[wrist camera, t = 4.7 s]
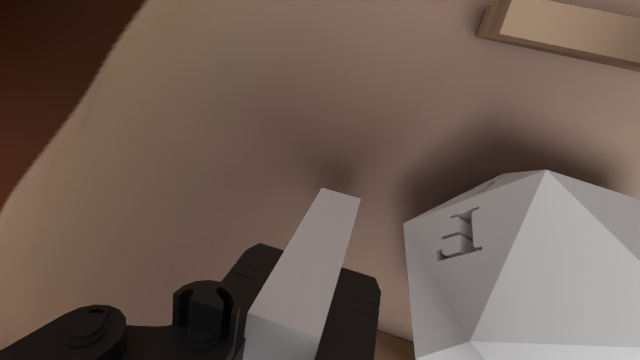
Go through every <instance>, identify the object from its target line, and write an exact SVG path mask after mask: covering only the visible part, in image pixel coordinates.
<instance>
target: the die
mask: <svg viewBox="0 0 640 360" xmlns="http://www.w3.org/2000/svg"><path fill="white" fill-rule="evenodd" d="M403 229H404V240H405V251H406V262H407V273H408V284H409V295H410V306H411V317H412V328H413V339H414V350H415V359H416V360H640V199H637V198H634V197H631V196H628V195H625V194H621V193H618V192H615V191H612V190H609V189H606V188H603V187H599V186H596V185H593V184H590V183H587V182H584V181H581V180H577V179H574V178H571V177H568V176H565V175H562V174H559V173H555V172H552V171H549V170H536V171H525V172H514V173H503V174H501V175H499V176H497V177H495V178H493V179H491V180H489V181H487V182H485V183H483V184H481V185H479V186H477V187H475V188H473V189H472V190H469V191H467V192H465V193H463V194H461V195H459V196H457V197H455V198H453V199H451V200H449V201H447V202H445V203H443V204H441V205H439V206H437V207H435V208H433V209H431V210H429V211H427V212H425V213H423V214H421V215H419V216H417V217H415V218H413V219H411V220H409V221H407V222H405V223H403Z"/></svg>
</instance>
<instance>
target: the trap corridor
mask: <svg viewBox="0 0 640 360" xmlns="http://www.w3.org/2000/svg"><path fill="white" fill-rule="evenodd" d="M476 37H479V38H483V39H488V40H493V41H498V42H502V43H507V44H512V45H517V46H521V47H526V48H531V49H535V50H540V51H545V52H550V53H554V54H559V55H564V56H569V57H573V58H578V59H583V60H588V61H592V62H597V63H602V64H606V65H611V66H616V67H621V68H625V69H630V70H635V71H640V18H637V17H632V16H627V15H622V14H616V13H611V12H606V11H601V10H595V9H590V8H585V7H580V6H575V5H569V4H564V3H559V2H554V1H549V0H501V1H499V2H496V3H494V4H492V5H490V6H488V7H486V9H485V12H484V15H483V18H482V21H481V23H480V26H479V29H478V32H477V35H476ZM374 360H416V359H415V350H414V343H413V342H410V341H407V340H404V339H401V338H398V337H395V336H392V335H389V334H386V333H383V332H380V331H377V335H376V345H375V355H374Z"/></svg>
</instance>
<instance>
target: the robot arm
mask: <svg viewBox="0 0 640 360" xmlns="http://www.w3.org/2000/svg"><path fill="white" fill-rule="evenodd" d="M360 201H361V199H360V198H357V197H353V196H350V195H346V194H343V193H339V192H336V191H332V190H328V189H325V188H321V190H320V192H319V193H318V195H317V197H316V198H315V200H314V202H313V203H312V205H311V207H310V208H309V210H308V212H307V213H306V215H305V217H304V218H303V220H302V222H301V224H300V225H299V227H298V229H297V230H296V232H295V234H294V235H293V237H292V239H291V240H290V242H289V244H288V245H287V247H286V249H285V250H284V251H283V250H280V249H277V248H274V247H271V246H267V245H264V244H261V243H259V244H257V245H255V246H253V247H251V248H249V249H247V250H246V251H245V252H244V253H243V255H242V256H241V257H240V258H239V260H238V261H237V263H236V264H235V265H234V266H233V267H232V269H231V270H230V272H229V273H228V274H227V275H226V276H225V278H224V279H223V280H222V281H221V282H217V281H212V280H205V281H195V282H193V283H190V284H187V285H184V286H183V287H181V288H180V289H179V290H177V291H176V292H175V293H173V323H172V325H169V326H159V327H151V326H130V325H126V317H125V316H124V315H123V314H122V312H121V311H120V310H119V309H116V308H114V307H111V306H109V305H91V306H86V307H81V308H78V309H75V310H73V311H71V312H68V313H66V314H64V315H62V316H60V317H59V318H57V319H55V320H53V321H52V322H50V323H48V324H46V325H45V326H43V327H41V328H39V329H38V330H36V331H34V332H32V333H31V334H29V335H27V336H25V337H24V338H22V339H20V340H18V341H17V342H15V343H13V344H11V345H10V346H8V347H6V348H4V349H2V350H1V351H0V360H374V355H375V345H376V335H377V325H378V316H379V306H380V296H381V291H380V289H379V286H378V284H377V281H376V279H375V278H374V277H371V276H368V275H364V274H361V273H358V272H355V271H352V270H348V269H345V268H342V266H343V263H344V259H345V256H346V252H347V248H348V245H349V241H350V237H351V234H352V230H353V227H354V223H355V219H356V216H357V212H358V208H359V205H360Z"/></svg>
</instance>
